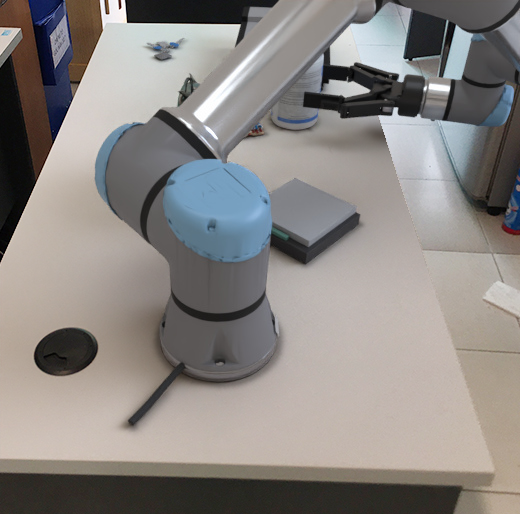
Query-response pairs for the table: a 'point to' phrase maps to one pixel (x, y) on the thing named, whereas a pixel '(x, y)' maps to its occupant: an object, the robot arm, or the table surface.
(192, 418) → the table surface
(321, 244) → the scale
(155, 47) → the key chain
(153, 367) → the table surface
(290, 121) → the supplement tub
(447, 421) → the table surface
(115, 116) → the table surface
